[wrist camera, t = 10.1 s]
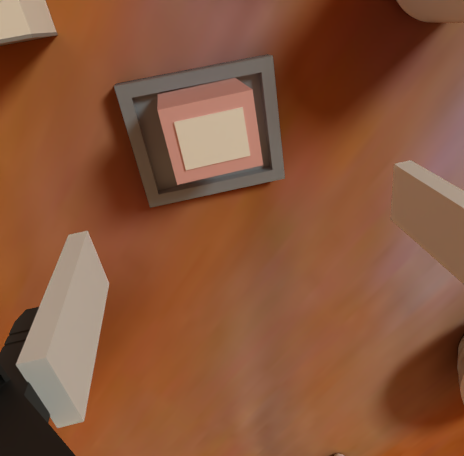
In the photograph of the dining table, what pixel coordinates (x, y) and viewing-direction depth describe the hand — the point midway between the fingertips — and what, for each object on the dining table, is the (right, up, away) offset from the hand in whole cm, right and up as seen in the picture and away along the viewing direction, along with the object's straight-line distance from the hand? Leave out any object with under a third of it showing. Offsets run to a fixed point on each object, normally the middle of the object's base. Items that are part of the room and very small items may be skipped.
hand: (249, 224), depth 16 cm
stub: (-3, +9, +14) cm, 17 cm away
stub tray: (-3, +8, +16) cm, 18 cm away
